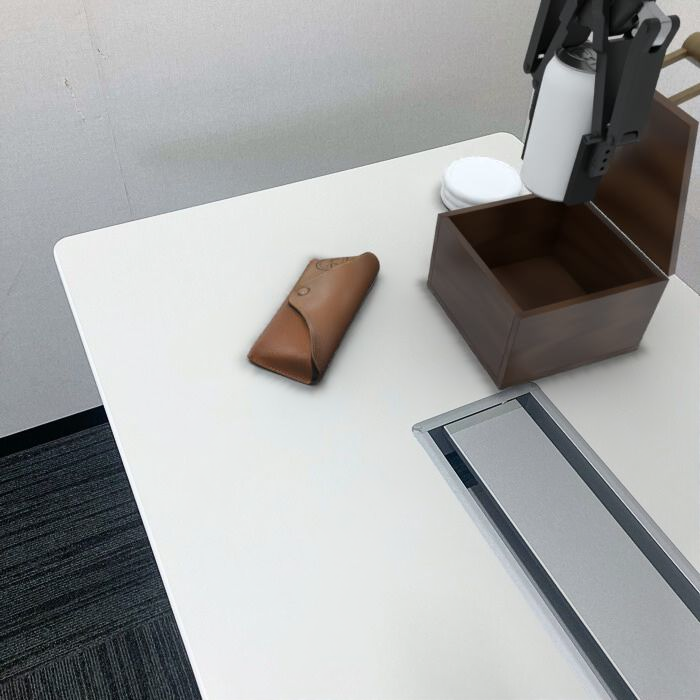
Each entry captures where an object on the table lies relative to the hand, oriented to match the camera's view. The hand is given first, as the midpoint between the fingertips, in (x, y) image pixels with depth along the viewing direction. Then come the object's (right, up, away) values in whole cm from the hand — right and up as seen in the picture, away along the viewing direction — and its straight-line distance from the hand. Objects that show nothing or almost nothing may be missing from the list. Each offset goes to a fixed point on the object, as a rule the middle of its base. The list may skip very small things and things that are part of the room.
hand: (556, 178), depth 69 cm
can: (0, -1, +1) cm, 1 cm away
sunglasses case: (-22, -12, +12) cm, 28 cm away
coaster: (-2, +3, +28) cm, 28 cm away
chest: (+1, -12, +13) cm, 18 cm away
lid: (+6, +2, +1) cm, 7 cm away
